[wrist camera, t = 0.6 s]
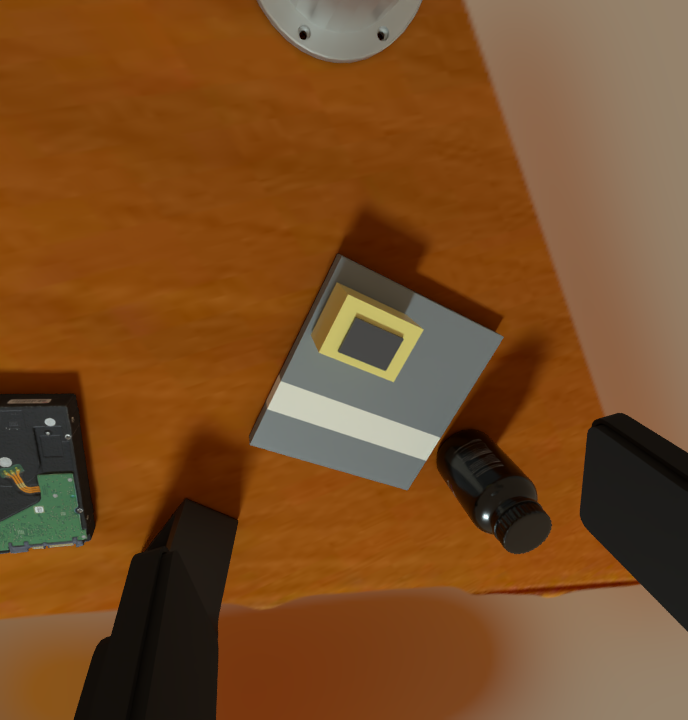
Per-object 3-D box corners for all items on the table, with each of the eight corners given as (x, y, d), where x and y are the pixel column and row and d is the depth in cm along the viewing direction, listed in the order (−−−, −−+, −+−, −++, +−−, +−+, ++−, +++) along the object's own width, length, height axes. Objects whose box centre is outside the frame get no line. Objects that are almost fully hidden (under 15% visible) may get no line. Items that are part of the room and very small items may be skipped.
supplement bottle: (426, 477, 48) (480, 564, 38) (445, 424, 46) (508, 501, 35) (479, 479, 50) (544, 562, 40) (499, 429, 48) (574, 503, 37)
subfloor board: (337, 253, 36) (341, 256, 35) (495, 331, 43) (503, 337, 41) (249, 435, 41) (249, 444, 40) (402, 481, 48) (407, 490, 46)
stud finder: (336, 282, 35) (349, 295, 32) (406, 314, 38) (425, 330, 34) (310, 335, 37) (319, 354, 33) (379, 363, 39) (394, 383, 35)
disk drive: (-69, 391, 34) (-26, 536, 40) (-93, 408, 32) (-44, 561, 37) (78, 388, 37) (99, 525, 42) (66, 403, 34) (91, 548, 39)
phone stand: (186, 496, 42) (169, 606, 32) (238, 518, 45) (239, 627, 34) (137, 559, 44) (105, 683, 33) (190, 577, 46) (176, 698, 36)
